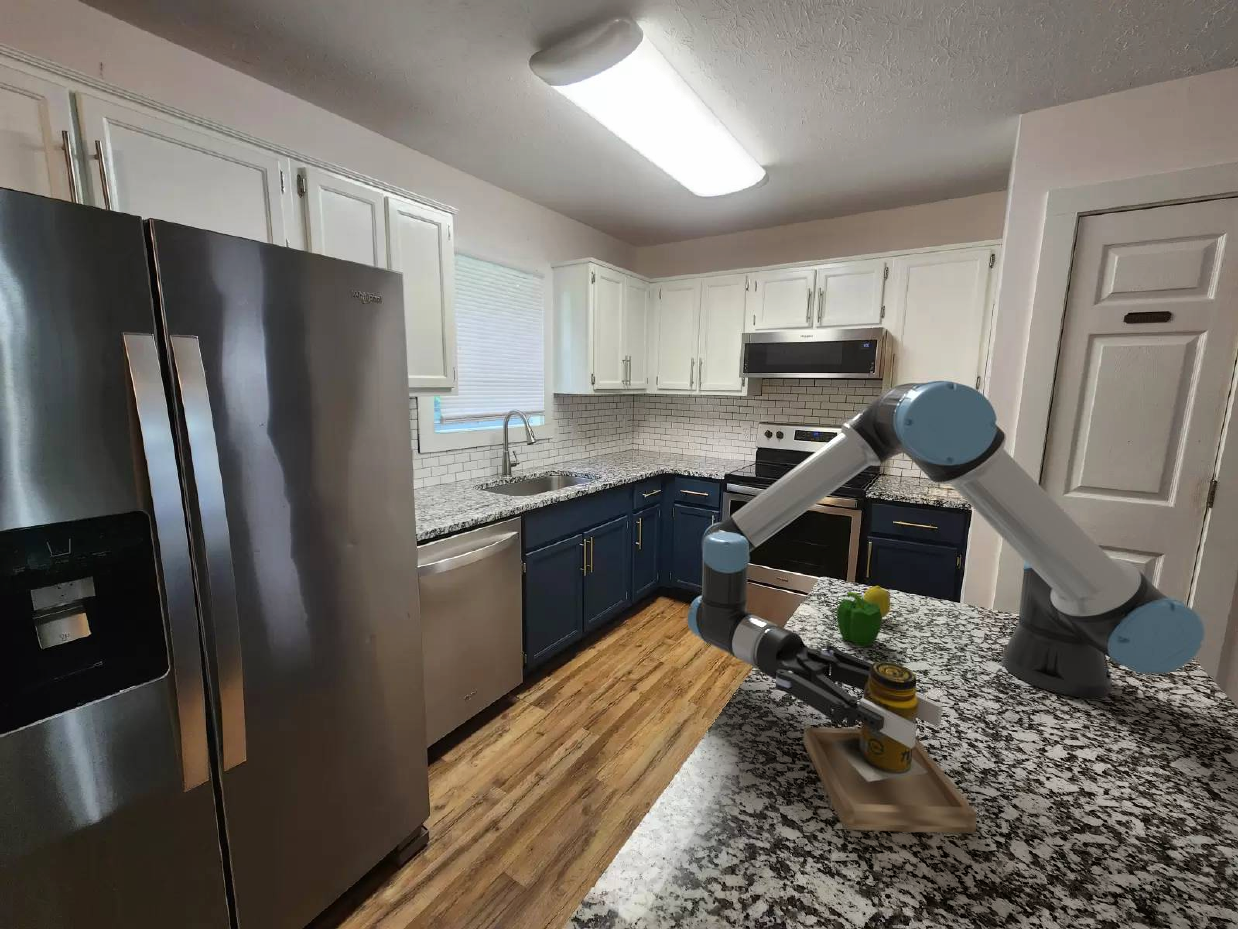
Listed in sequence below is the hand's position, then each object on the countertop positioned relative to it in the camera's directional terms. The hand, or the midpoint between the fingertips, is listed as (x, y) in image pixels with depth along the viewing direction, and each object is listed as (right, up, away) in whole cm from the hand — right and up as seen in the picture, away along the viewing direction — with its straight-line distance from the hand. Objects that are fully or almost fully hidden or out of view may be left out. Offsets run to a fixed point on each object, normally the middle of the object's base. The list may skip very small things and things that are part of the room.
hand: (927, 725), depth 62 cm
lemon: (+21, -4, +54) cm, 58 cm away
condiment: (-4, -7, +5) cm, 9 cm away
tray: (-3, -10, +6) cm, 12 cm away
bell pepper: (+12, -5, +45) cm, 47 cm away
